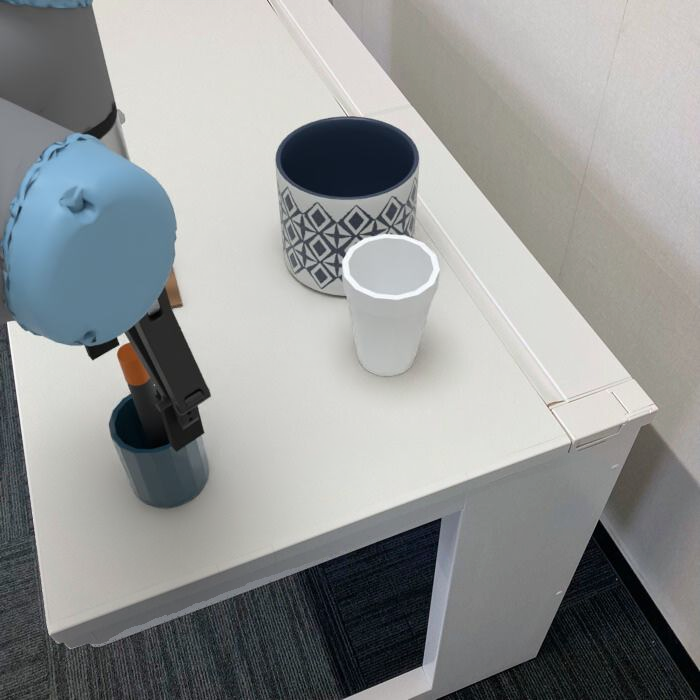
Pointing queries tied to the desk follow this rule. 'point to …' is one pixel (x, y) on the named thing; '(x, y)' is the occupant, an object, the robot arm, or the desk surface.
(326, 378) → the desk surface
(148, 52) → the desk surface
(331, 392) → the desk surface
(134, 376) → the marker
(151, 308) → the robot arm
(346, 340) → the desk surface
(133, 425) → the pen cup
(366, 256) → the foam cup
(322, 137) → the planter
